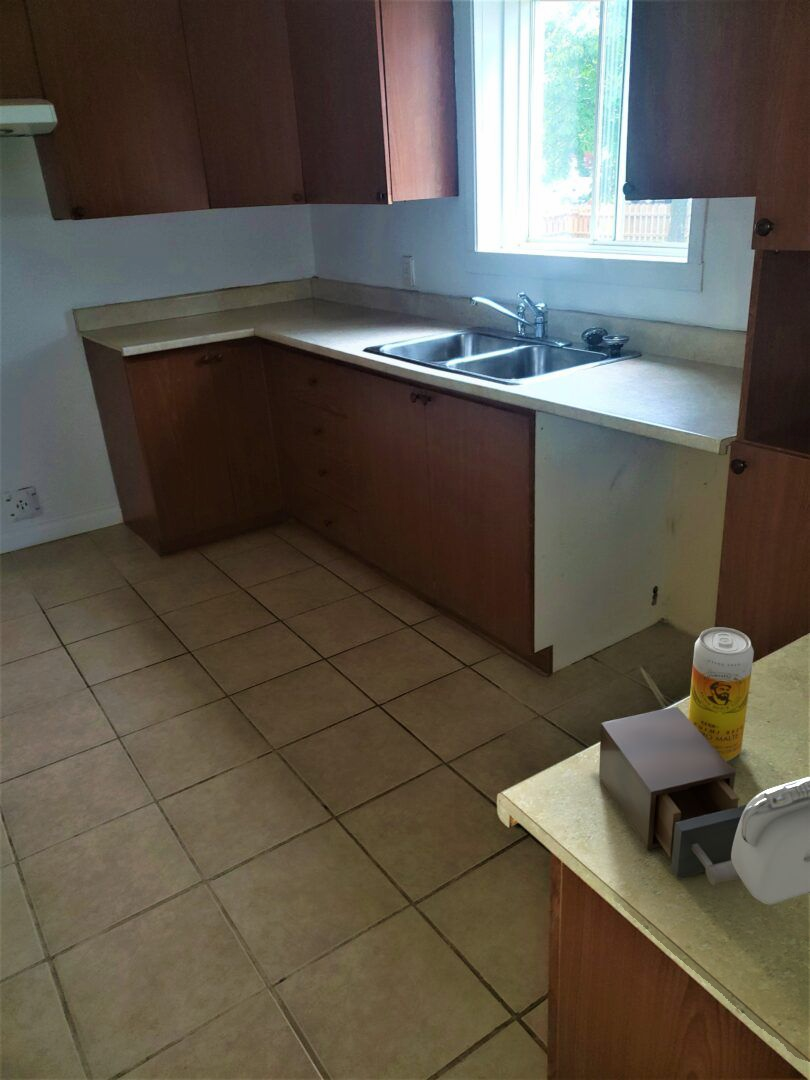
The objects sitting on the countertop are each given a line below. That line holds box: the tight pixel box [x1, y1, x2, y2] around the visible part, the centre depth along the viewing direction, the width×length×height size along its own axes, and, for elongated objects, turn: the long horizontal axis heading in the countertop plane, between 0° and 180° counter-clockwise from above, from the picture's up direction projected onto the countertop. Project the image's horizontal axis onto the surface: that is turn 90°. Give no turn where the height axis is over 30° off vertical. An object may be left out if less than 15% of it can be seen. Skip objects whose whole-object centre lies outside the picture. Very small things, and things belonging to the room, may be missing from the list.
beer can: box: [687, 626, 755, 762], centre depth 92 cm, size 6×6×15 cm
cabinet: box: [598, 706, 737, 850], centre depth 87 cm, size 11×9×8 cm
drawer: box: [653, 779, 748, 886], centre depth 80 cm, size 15×8×6 cm, turn 13°
